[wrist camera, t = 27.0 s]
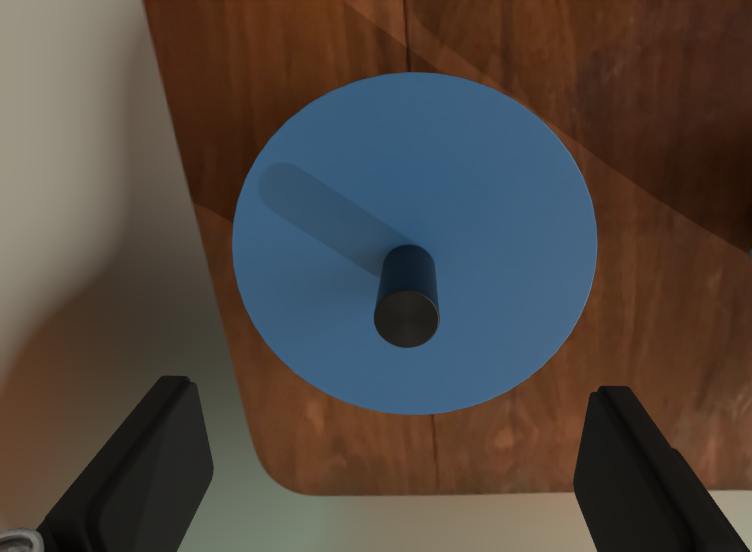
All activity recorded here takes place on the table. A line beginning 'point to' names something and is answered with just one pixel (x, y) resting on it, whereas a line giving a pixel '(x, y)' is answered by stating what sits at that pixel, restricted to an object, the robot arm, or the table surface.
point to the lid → (414, 243)
